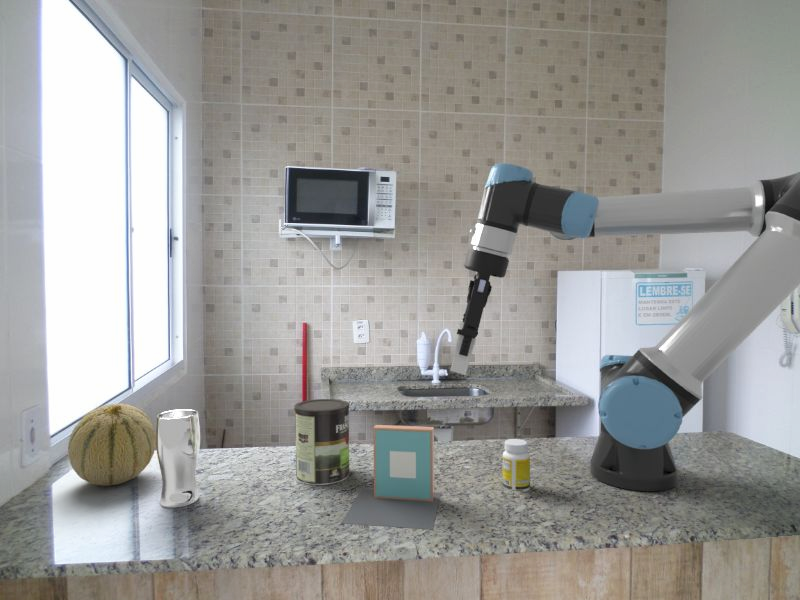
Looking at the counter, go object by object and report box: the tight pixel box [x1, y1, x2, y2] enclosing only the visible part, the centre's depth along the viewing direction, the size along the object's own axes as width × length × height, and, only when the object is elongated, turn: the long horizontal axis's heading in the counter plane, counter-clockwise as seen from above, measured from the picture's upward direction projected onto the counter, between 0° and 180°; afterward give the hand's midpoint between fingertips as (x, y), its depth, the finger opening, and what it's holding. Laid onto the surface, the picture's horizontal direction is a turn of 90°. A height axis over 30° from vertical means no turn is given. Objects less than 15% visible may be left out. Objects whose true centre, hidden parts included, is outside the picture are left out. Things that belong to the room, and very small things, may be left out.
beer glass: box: [155, 408, 201, 509], centre depth 92 cm, size 7×7×15 cm
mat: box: [340, 487, 442, 531], centre depth 88 cm, size 14×14×1 cm
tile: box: [373, 424, 435, 501], centre depth 91 cm, size 10×2×12 cm, turn 81°
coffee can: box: [293, 398, 350, 486], centre depth 102 cm, size 10×10×14 cm
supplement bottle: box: [502, 438, 531, 493], centre depth 97 cm, size 5×5×8 cm
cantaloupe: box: [67, 403, 156, 487], centre depth 101 cm, size 15×15×15 cm
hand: (458, 364), depth 100 cm, fingers open, 13 cm apart
